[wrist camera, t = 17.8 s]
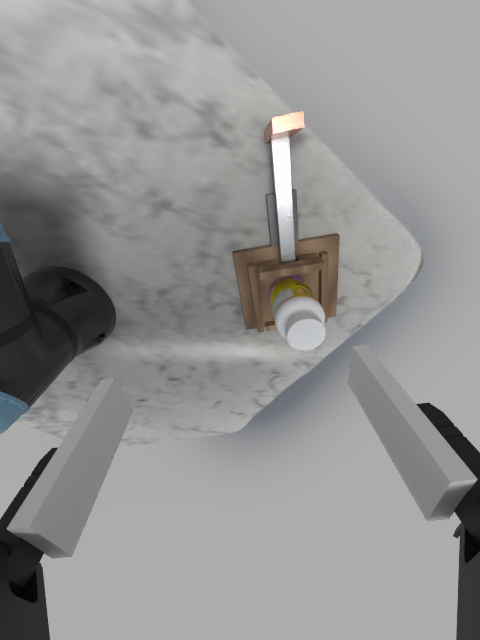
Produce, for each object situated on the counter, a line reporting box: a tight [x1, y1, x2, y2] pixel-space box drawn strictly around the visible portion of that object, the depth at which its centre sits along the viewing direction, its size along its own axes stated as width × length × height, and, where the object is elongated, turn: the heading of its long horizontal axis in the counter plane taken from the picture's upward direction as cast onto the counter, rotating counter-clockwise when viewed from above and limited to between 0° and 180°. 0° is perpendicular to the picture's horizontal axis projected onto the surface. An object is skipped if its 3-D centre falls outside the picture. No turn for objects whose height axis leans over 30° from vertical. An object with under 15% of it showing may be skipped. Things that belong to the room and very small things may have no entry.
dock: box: [233, 189, 339, 332], centre depth 36 cm, size 16×21×6 cm
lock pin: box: [265, 111, 304, 263], centre depth 30 cm, size 3×16×7 cm, turn 10°
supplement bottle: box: [269, 275, 326, 351], centre depth 34 cm, size 7×7×13 cm
